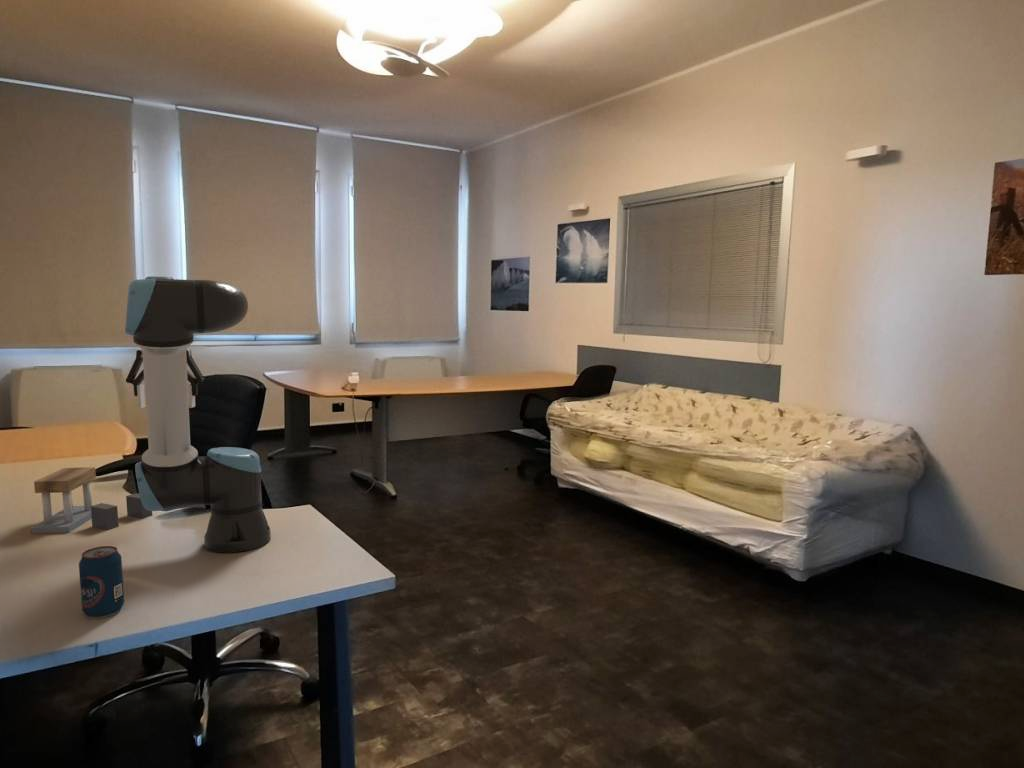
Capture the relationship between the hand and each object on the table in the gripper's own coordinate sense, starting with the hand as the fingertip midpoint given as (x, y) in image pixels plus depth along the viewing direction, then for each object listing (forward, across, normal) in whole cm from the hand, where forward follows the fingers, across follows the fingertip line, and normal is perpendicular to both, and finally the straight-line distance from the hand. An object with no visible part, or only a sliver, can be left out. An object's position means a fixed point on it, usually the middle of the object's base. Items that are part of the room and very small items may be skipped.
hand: (167, 407), depth 190 cm
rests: (+29, +8, +13) cm, 32 cm away
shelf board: (+19, +22, +12) cm, 31 cm away
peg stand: (+29, +22, +12) cm, 38 cm away
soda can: (+29, -12, +68) cm, 74 cm away
